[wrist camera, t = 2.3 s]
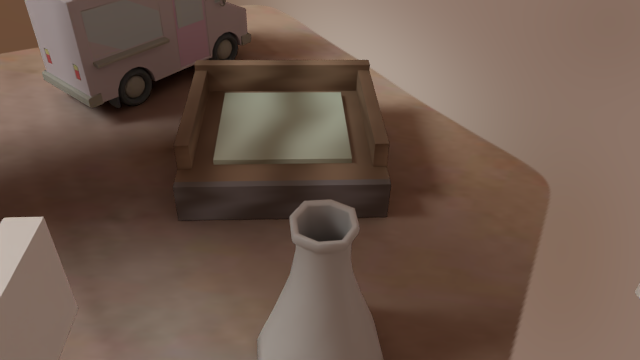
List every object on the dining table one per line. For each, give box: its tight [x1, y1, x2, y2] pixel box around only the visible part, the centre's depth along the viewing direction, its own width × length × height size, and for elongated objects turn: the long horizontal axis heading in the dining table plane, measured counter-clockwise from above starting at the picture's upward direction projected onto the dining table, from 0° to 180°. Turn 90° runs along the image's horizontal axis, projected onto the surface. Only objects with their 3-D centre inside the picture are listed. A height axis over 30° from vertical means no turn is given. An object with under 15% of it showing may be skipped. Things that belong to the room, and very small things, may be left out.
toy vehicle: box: [25, 0, 251, 108], centre depth 52 cm, size 9×20×15 cm, turn 140°
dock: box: [173, 60, 391, 220], centre depth 43 cm, size 15×15×6 cm
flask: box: [257, 199, 384, 360], centre depth 27 cm, size 7×7×10 cm
